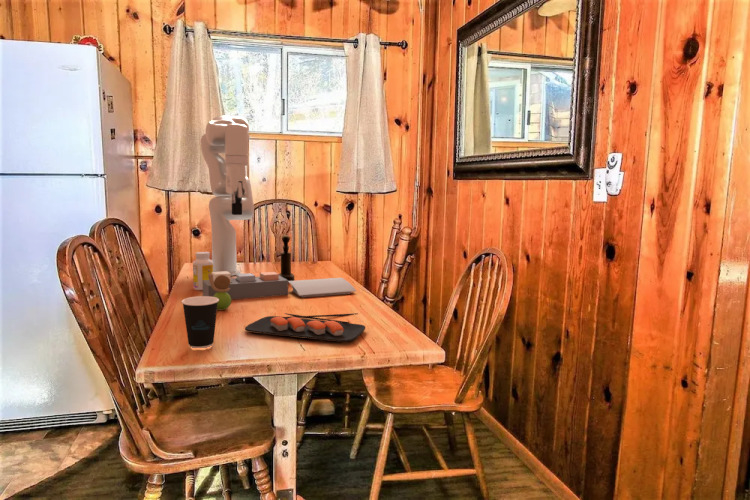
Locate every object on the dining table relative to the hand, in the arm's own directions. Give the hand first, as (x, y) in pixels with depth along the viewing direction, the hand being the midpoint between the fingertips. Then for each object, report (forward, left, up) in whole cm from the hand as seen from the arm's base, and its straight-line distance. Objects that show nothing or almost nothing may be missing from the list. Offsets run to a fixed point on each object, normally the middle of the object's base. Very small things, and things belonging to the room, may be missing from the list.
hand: (236, 214), depth 176 cm
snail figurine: (+29, -12, -26) cm, 41 cm away
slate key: (+12, 0, -23) cm, 26 cm away
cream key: (+12, -8, -22) cm, 26 cm away
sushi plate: (+54, +8, -27) cm, 61 cm away
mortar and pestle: (-6, +20, -26) cm, 34 cm away
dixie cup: (+62, -23, -26) cm, 71 cm away
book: (+16, +25, -27) cm, 40 cm away
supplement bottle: (-3, -11, -26) cm, 29 cm away
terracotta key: (+12, +8, -23) cm, 27 cm away
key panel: (+12, 0, -26) cm, 29 cm away
